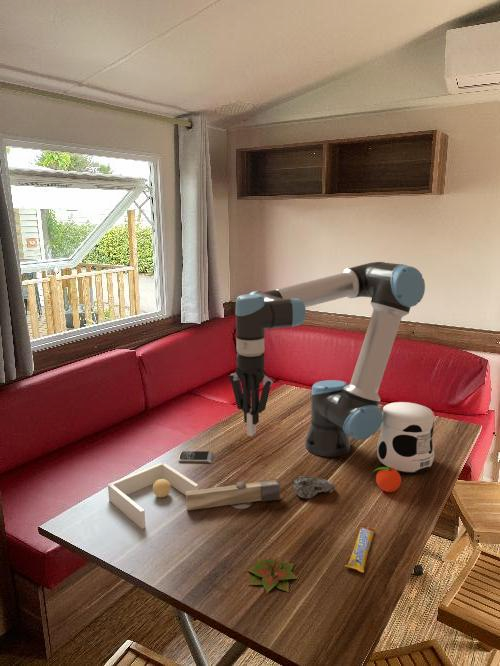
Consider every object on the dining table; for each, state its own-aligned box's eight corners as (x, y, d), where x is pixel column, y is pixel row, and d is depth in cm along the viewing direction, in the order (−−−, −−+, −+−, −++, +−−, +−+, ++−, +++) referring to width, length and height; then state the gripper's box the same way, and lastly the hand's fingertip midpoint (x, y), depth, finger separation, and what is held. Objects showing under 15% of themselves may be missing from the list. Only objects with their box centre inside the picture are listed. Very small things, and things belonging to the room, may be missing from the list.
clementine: (370, 493, 139) (371, 471, 138) (373, 481, 146) (374, 459, 144) (399, 499, 137) (401, 476, 135) (401, 486, 143) (402, 464, 141)
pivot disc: (254, 498, 137) (254, 497, 137) (248, 510, 132) (248, 509, 132) (234, 495, 139) (234, 494, 139) (227, 507, 133) (227, 506, 133)
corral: (198, 500, 136) (198, 484, 135) (142, 528, 124) (140, 511, 123) (163, 477, 149) (162, 462, 148) (109, 500, 137) (107, 484, 136)
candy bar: (359, 528, 125) (359, 522, 124) (376, 533, 123) (376, 526, 123) (344, 572, 110) (344, 565, 109) (362, 577, 108) (363, 570, 108)
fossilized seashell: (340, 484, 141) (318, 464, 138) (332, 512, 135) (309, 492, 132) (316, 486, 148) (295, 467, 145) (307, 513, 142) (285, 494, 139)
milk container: (381, 447, 167) (385, 397, 162) (435, 457, 159) (440, 406, 155) (370, 470, 152) (373, 416, 147) (429, 483, 144) (434, 427, 140)
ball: (175, 480, 138) (162, 473, 141) (162, 487, 134) (150, 479, 137) (173, 496, 140) (160, 488, 142) (160, 503, 135) (148, 495, 138)
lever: (279, 499, 136) (279, 482, 135) (187, 511, 130) (186, 494, 129) (276, 492, 139) (276, 476, 138) (186, 504, 133) (185, 487, 132)
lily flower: (302, 562, 113) (303, 545, 112) (294, 601, 102) (295, 582, 100) (252, 554, 116) (252, 537, 115) (239, 591, 104) (238, 573, 103)
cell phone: (180, 454, 163) (180, 450, 163) (213, 455, 163) (213, 451, 163) (177, 464, 157) (177, 460, 157) (212, 464, 157) (212, 460, 157)
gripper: (222, 353, 131) (224, 434, 136) (266, 359, 125) (267, 444, 131) (235, 346, 137) (237, 424, 143) (278, 351, 131) (278, 432, 137)
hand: (251, 433), depth 137 cm, fingers closed
